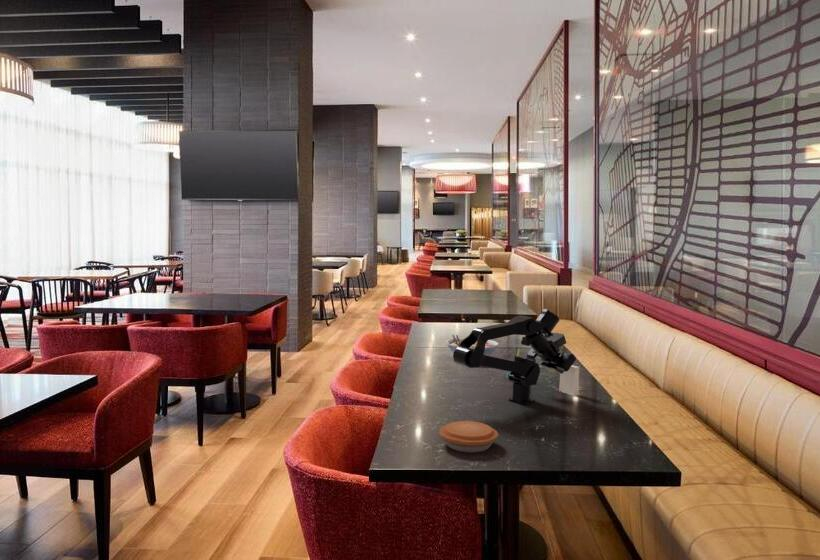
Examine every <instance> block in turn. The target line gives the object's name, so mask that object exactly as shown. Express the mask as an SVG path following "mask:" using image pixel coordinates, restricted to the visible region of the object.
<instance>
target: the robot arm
mask: <svg viewBox="0 0 820 560" xmlns="http://www.w3.org/2000/svg"><path fill="white" fill-rule="evenodd" d="M559 322H560V317H559V316H558V315H556V314H555V313H554V312H553V311H550V309H548V308H543V310H541V313H540V314H539V316H538V317H537V318H536V319H535V318H534V317H530V316H529V317H528V316H525V315H517V316H514V317H513V318H511V319H510V320H509V321H506V322H502V323H497V324H492V325H487V326H482V327H475V328H473V329H472V330H471V332H470V334H469V335H468V336H466V337H464V338H465V339H464V340H462V341H461V343H460V344H459V346H458V347H457V348H456V349H455V351H454V353H453V352H452V355H453V356H452V357H453V361H454V363H455V364H458V365H462V366H464V367H467V368H470V369H473V368H474V369H476V368H478V369H479V368H482V367H484V368H489V369H496V370H499V371H501V370H502V371H504V372H505V371H510V373H509V374H508V378H509V379H508V378H507V379H508V380H509V381H510V382H513V383H512V397H509V398H508V401H511V402H515V403H518V404H522V405H525V404H526V405H527V404H529V403H532V402H535V401H536V399H535V398H533V397H532V389H533V388H532V386H536V385H537V383H538V380H539V376H540V374H541V367H540V365H541V366H542V367H545V368H547V369H548V370H549V369H550V370H552V371H554V372H557V373H558V374H560V373H561V374H563V373H564V371H565V372H566V371H568V370H569V369H570V367H571V366H572V365H573V364H574V363H575V362H576V360H577V357H576V356H575V354H574V353H572V352H567V351H563V352H562V353H561V352H560V351H561V349H560V348H561V347H563V346H564V345H566V344H567V340H566V337H565V334H564V333H559V332H553V330H554V329H555V327H556V326H557V325H558V323H559ZM515 335H517V336H522V337H521V342H520V344H521V345H523V346H526V347H531V348H530V350H529V351H528V352H527V353H526V357H524V356H520V355H519V356H517V354H516V355H514V359H509V358H508V359H507V358H504V357H503V358H502V357H498V356H493V355H485V354H483V353H484V350H485V345H486V342H487V341H488V340H495V339H500V338H505V337H510V336H515ZM476 342H477V344H476V347H475V348H474V349H471V348H470V347H471V346H472V345H473V344H475V343H476ZM536 357H538V358H537V359H538V360H539V362H541V363H540V364H539V363H538V362H536V361H537V360H536Z"/></svg>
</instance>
